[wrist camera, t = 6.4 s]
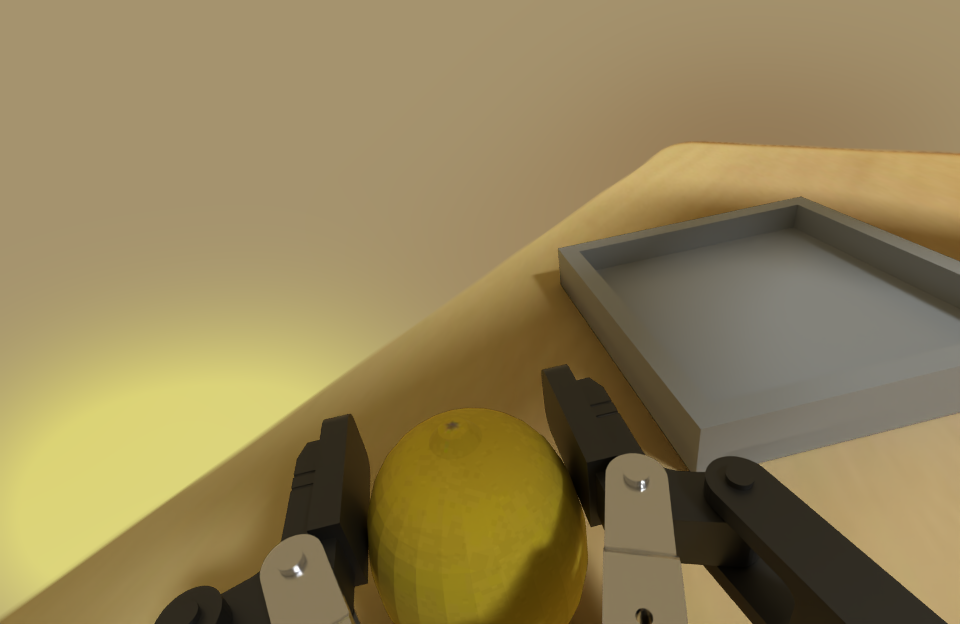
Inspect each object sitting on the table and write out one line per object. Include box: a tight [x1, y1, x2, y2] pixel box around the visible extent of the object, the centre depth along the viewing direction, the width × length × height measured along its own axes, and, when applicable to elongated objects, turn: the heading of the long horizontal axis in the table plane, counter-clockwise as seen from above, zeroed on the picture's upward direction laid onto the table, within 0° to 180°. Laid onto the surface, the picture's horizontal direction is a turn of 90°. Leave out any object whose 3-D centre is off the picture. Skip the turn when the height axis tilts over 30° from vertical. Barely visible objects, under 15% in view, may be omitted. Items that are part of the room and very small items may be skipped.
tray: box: [558, 197, 960, 472], centre depth 25 cm, size 16×16×2 cm
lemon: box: [367, 408, 588, 624], centre depth 13 cm, size 6×6×8 cm
